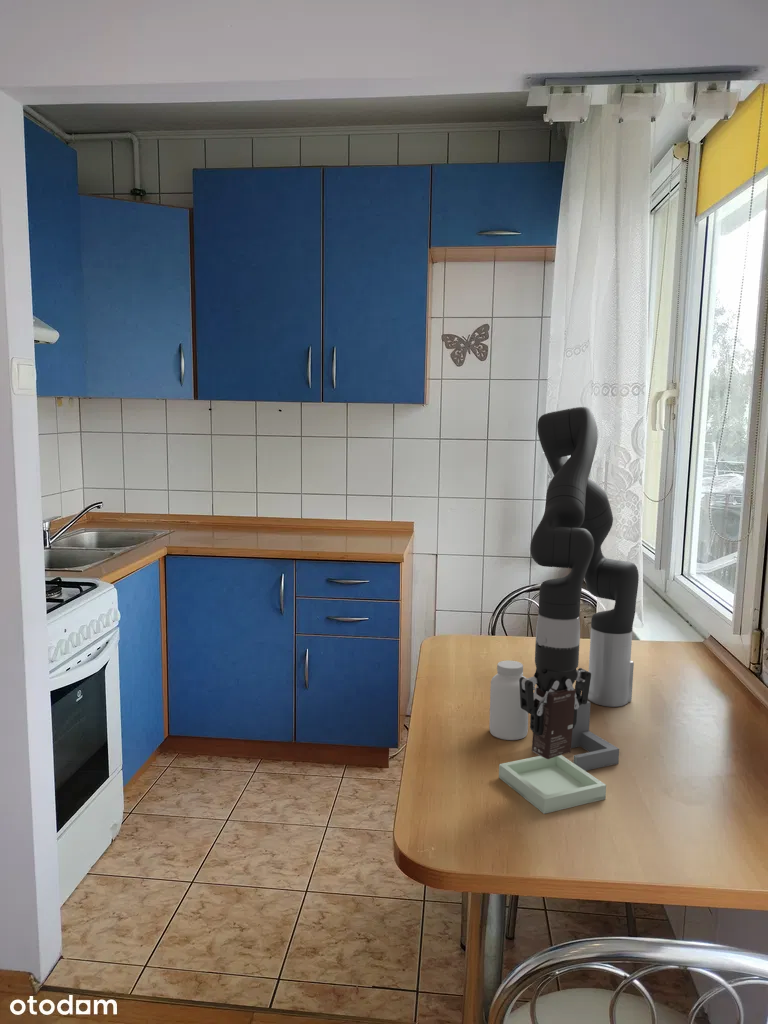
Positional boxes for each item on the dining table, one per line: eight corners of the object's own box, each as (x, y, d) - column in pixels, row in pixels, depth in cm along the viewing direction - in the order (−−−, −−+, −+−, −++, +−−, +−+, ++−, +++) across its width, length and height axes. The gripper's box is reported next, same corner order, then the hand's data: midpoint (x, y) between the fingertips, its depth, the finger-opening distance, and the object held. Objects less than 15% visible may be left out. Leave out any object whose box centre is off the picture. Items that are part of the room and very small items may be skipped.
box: (549, 761, 137) (552, 695, 136) (531, 751, 141) (533, 686, 139) (573, 753, 140) (577, 688, 139) (555, 743, 144) (558, 680, 143)
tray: (556, 765, 150) (557, 752, 150) (605, 799, 138) (606, 785, 137) (498, 777, 145) (499, 764, 145) (543, 813, 133) (544, 799, 132)
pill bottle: (481, 728, 167) (484, 660, 165) (514, 723, 170) (516, 656, 168) (501, 743, 160) (504, 672, 157) (535, 737, 163) (538, 667, 161)
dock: (575, 737, 163) (578, 692, 162) (618, 763, 152) (621, 715, 150) (535, 744, 159) (537, 699, 158) (576, 772, 147) (578, 723, 146)
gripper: (577, 629, 144) (572, 716, 146) (510, 638, 138) (507, 728, 141) (604, 641, 137) (599, 732, 140) (535, 650, 131) (531, 745, 134)
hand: (553, 730), depth 140 cm, fingers closed on box, 6 cm apart
